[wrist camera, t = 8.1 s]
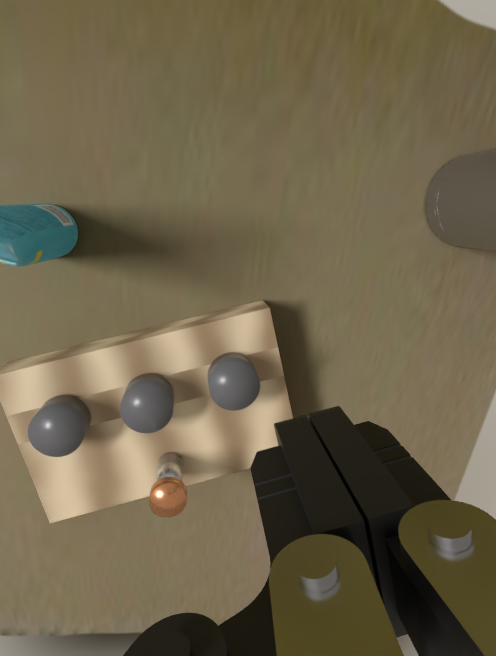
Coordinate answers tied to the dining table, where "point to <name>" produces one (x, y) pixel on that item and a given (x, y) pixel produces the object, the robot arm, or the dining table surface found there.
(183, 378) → the panel
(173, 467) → the orange light bulb
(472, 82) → the dining table surface
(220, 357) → the knob
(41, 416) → the knob
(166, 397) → the knob middle
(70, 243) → the teal bottle
